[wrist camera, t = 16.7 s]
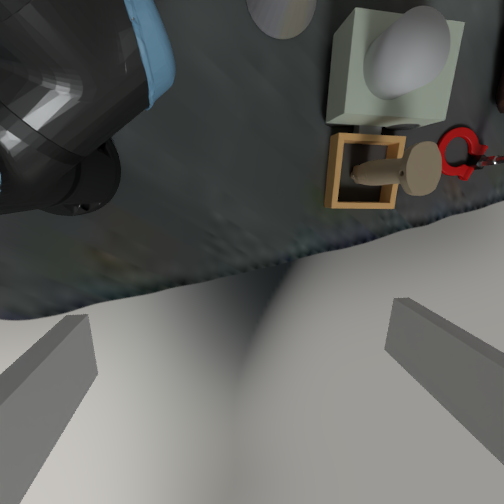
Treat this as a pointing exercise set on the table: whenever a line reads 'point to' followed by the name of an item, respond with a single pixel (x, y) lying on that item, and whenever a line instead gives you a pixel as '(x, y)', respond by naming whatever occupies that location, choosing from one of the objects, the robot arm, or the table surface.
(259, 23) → the lamp
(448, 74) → the grey and tan pieces
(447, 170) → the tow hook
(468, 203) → the table surface
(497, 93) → the dark brown irregular lump
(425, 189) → the handle
